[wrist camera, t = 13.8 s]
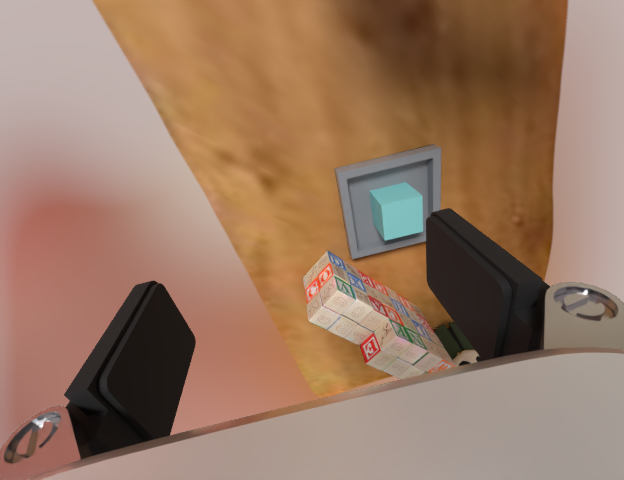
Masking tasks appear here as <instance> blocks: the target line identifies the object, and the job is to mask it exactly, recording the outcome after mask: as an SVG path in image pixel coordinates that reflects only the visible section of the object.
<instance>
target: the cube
mask: <svg viewBox="0 0 624 480" xmlns="http://www.w3.org/2000/svg"><path fill="white" fill-rule="evenodd" d="M369 192H370V200H371V209H372V217H373V224H374V225H375V227H376V228H377V230H378V231H379V233H380V234H381V236H382V237H383V239H384V240H385V241H386V240H390V239H394V238H398V237H403V236H407V235H411V234H415V233H419V232H423V201H422V195H421V194H420V193H419V192H418V191H416V190H415V189H414V188H413V187H411V186H410V185H409V184H408V183H406V182H404V183H400V184H396V185H392V186H388V187H383V188H379V189H375V190H371V191H369Z"/></svg>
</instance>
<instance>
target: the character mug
mask: <svg viewBox="0 0 624 480" xmlns="http://www.w3.org/2000/svg"><path fill="white" fill-rule="evenodd" d="M449 324H450V326H451V328H449V329H447V328H446V327H445V325H442V326H441V327H439V328H438V329H436V331H435V332H434V333H435V334H436V335H437V337H438V339H439V340H440V342H441V343H442V345H443V346H444V348H445V350H446V351H447V353H448V354H449V356H450V357H451V359H452V360H453V362H454V363H455V367H457V366H462V365H466V364H471V363H476V362H480V361H483V360H482V359H481V358H480V356H479V355H478V353H477V352H476V351H475V349H474V348H473V347H472V345H471V344H470V342H469V341H468V340H467V338H466V337H465V336H464V334H463V333H462V331H461V330H460V329H459V327H458V326H457V325H456V323H449Z"/></svg>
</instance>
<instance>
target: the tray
mask: <svg viewBox="0 0 624 480" xmlns="http://www.w3.org/2000/svg"><path fill="white" fill-rule="evenodd" d="M335 175H336V181H337V186H338V192H339V198H340V203H341V209H342V215H343V220H344V226H345V232H346V237H347V243H348V249H349V253H350V255H351V258H352V259H355V258H359V257H364V256H368V255H372V254H376V253H380V252H384V251H388V250H392V249H396V248H400V247H405V246H409V245H413V244H417V243H421V242H425V241H426V219H427V218H428V217H430V215H431V213H432V212H435V211H439V210H440V201H441V147H438V146H436V145H434V144H433V145H429V146H425V147H421V148H417V149H413V150H408V151H404V152H400V153H396V154H392V155H388V156H384V157H380V158H376V159H372V160H368V161H364V162H360V163H355V164H351V165H347V166H343V167H339V168H335ZM404 182H406V183H408V184H409V185H410V186H411V187H413V188H414V189H415V190H416V191H418V192H419V193H420V194H421V195H422V201H423V232H419V233H415V234H411V235H407V236H403V237H398V238H394V239H390V240H386V241H385V240H384V239H383V237H382V236H381V234H380V233H379V231H378V230H377V228H376V227H375V225H374V224H373V217H372V209H371V200H370V192H369V191H371V190H375V189H379V188H383V187H388V186H392V185H396V184H400V183H404Z"/></svg>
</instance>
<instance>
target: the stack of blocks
mask: <svg viewBox="0 0 624 480" xmlns="http://www.w3.org/2000/svg"><path fill="white" fill-rule="evenodd" d="M303 281H304V287H305V295H306V301H307V313H308V320H309V322H311V323H313V324H315V325H318V326H320V327H322V328H324V329H327V330H328V331H330V332H332V333H334V334H336V335H338V336H340V337H342V338H344V339H346V340H348V341H350V342H353V343H355V344H358V345H360V348H361V351H362V354H363V357H364V360H365V363H366V364H367V365H369V366H372V367H374V368H376V369H378V370H381V371H384V372H386V373H388V374H391V375H393V376H395V377H397V378H399V379H406V378H410V377H414V376H418V375H423V374H427V373H431V372H435V371H440V370H444V369H448V368H453V367H455V363H454V362H453V360H452V359H451V357H450V356H449V354H448V353H447V351H446V350H445V348H444V346H443V345H442V343H441V342H440V340H439V339H438V337H437V335H436V334H435V333H434V332H433V330H432V328H431V327H430V325H429V324H428V322H427V321H426V318H425V317H424V315H423V314H422V312H421V311H420V309H419V308H418V307H417V306H415V305H414V304H412V303H410V302H409V301H408V300H407V299H405V298H403V297H402V296H400V295H399V294H397V293H395V292H394V291H392V290H391V289H389V288H388V287H386V286H384V285H382V284H380V283H378V282H377V281H375V280H374V279H372V278H369V277H368V276H367V275H365V274H363V273H362V272H360V271H358V270H357V269H356V268H355V267H353V266H352V265H350V264H348V263H347V262H345V261H344V260H341V259H340V258H339V257H337V256H335V255H334V254H332V253H330V252H329V251H326V253H325V254H324V255H323V256H322V257H321V258H320V259H319V260H318V262H317V263H316V264H315V265H314V266H313V267H312V268H311V269H310V270H309V271H308V273H307V274H306V275H305V276H304V278H303Z"/></svg>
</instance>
